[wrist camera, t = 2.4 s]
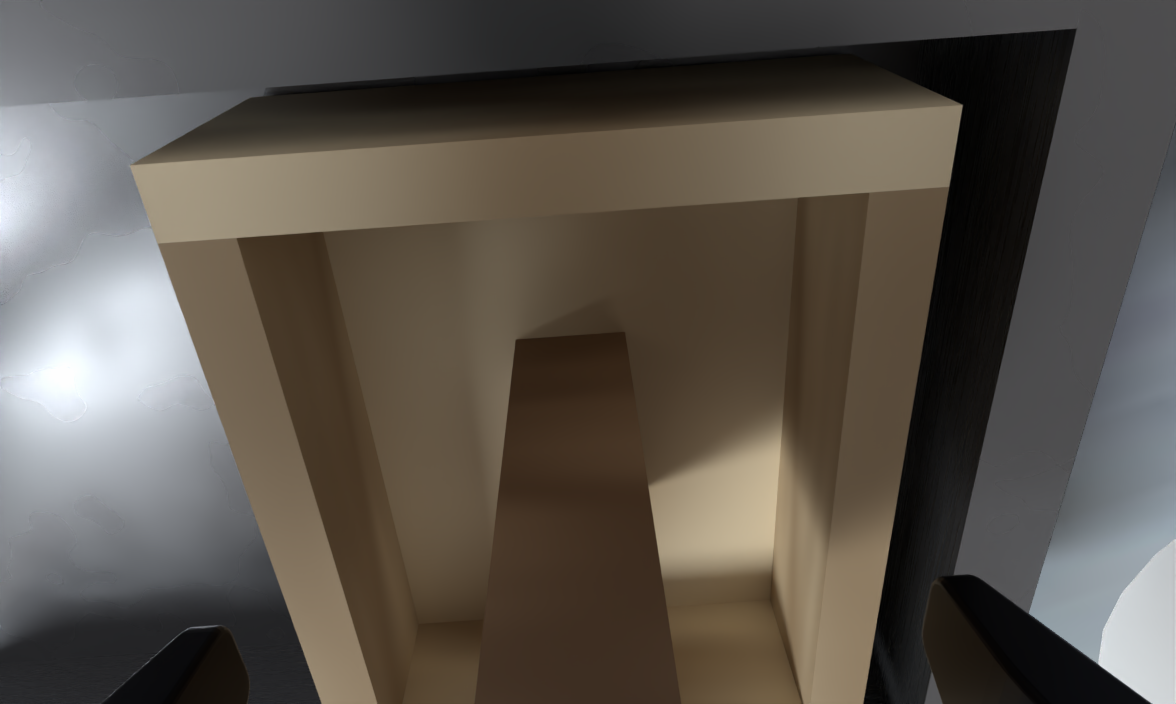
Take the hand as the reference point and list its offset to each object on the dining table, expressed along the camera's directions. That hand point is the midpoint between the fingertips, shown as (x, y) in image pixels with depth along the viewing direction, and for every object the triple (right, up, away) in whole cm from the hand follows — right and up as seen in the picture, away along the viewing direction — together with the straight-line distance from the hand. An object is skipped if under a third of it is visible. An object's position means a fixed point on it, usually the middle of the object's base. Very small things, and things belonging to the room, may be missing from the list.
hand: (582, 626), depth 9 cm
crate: (0, +2, +4) cm, 5 cm away
